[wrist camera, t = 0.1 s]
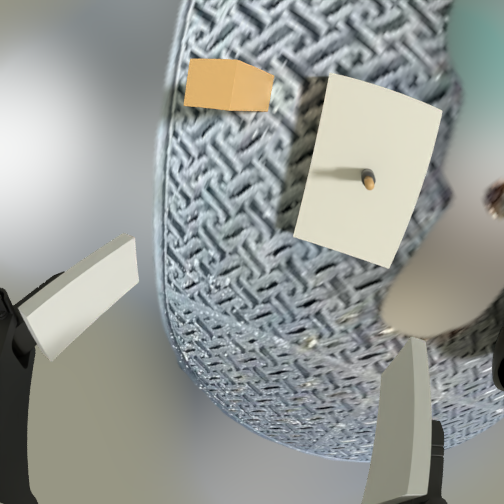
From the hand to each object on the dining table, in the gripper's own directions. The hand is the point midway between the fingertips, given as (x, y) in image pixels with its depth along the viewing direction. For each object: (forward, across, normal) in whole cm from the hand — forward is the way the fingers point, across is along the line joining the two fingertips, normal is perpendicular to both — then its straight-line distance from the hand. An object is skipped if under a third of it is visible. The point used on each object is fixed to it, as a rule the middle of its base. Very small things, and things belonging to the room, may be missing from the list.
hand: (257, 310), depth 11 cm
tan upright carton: (+28, -12, +9) cm, 32 cm away
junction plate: (+28, +5, +2) cm, 28 cm away
